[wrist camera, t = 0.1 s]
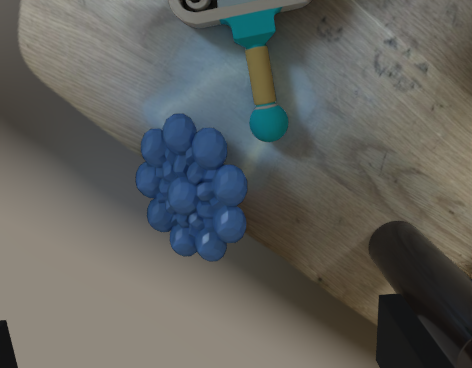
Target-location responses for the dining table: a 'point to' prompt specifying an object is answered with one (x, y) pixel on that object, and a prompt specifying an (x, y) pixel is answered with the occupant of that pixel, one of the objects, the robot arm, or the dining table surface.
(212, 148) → the grapes
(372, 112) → the dining table surface
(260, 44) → the dagger
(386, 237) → the sake bottle
